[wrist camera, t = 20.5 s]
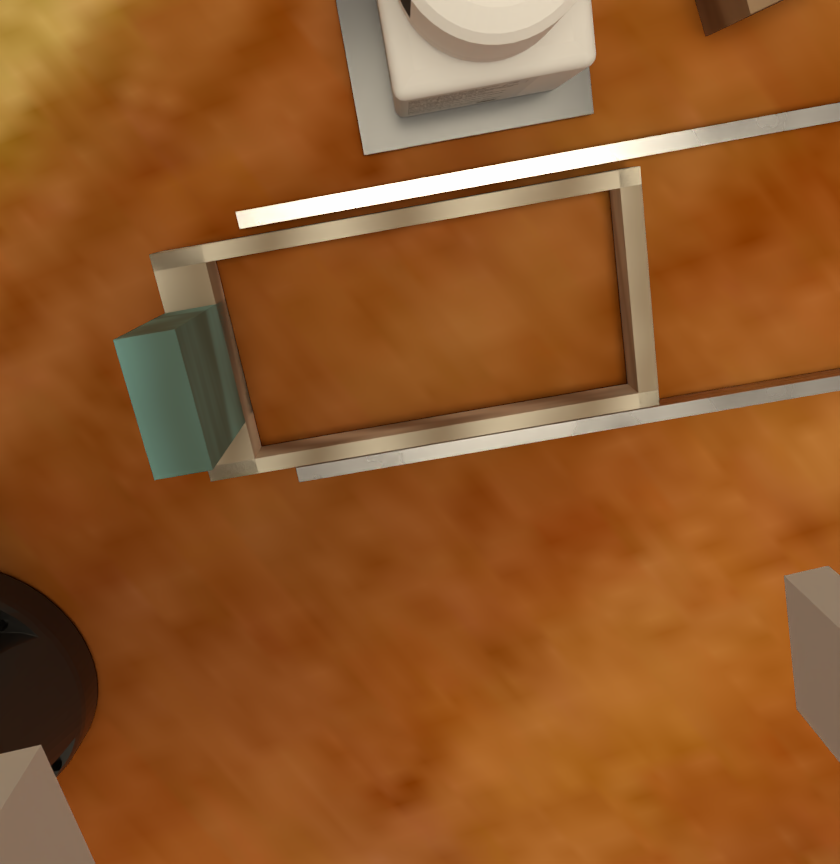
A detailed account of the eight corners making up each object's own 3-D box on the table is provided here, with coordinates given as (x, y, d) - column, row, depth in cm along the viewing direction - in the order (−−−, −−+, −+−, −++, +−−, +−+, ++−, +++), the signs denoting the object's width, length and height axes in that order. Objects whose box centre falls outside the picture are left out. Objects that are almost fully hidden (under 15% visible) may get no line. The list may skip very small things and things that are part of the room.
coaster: (364, 155, 37) (364, 155, 37) (317, -106, 34) (315, -111, 33) (590, 114, 37) (593, 113, 36) (564, -154, 34) (567, -160, 33)
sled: (219, 468, 42) (172, 540, 33) (161, 251, 38) (92, 269, 30) (647, 395, 41) (712, 449, 32) (628, 167, 38) (695, 160, 29)
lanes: (301, 474, 42) (299, 482, 41) (240, 211, 38) (235, 211, 37) (887, 374, 41) (901, 380, 40) (890, 93, 37) (905, 90, 36)
